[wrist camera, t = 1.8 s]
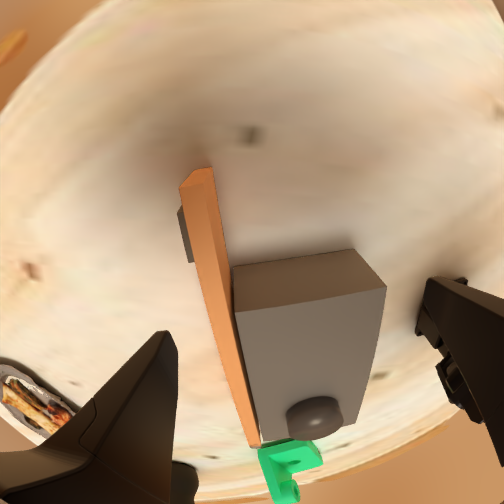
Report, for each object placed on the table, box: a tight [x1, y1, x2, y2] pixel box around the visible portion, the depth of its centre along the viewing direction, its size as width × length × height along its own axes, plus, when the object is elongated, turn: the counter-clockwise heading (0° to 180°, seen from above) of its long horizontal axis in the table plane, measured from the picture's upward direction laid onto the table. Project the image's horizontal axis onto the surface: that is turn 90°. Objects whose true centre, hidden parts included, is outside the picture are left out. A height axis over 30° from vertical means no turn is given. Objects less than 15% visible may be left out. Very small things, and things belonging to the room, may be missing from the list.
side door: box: [177, 167, 261, 448], centre depth 21 cm, size 2×27×6 cm, turn 7°
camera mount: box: [258, 440, 323, 504], centre depth 33 cm, size 12×8×10 cm, turn 24°
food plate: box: [0, 364, 76, 439], centre depth 31 cm, size 25×23×4 cm
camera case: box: [234, 249, 387, 441], centre depth 23 cm, size 10×18×8 cm, turn 7°
